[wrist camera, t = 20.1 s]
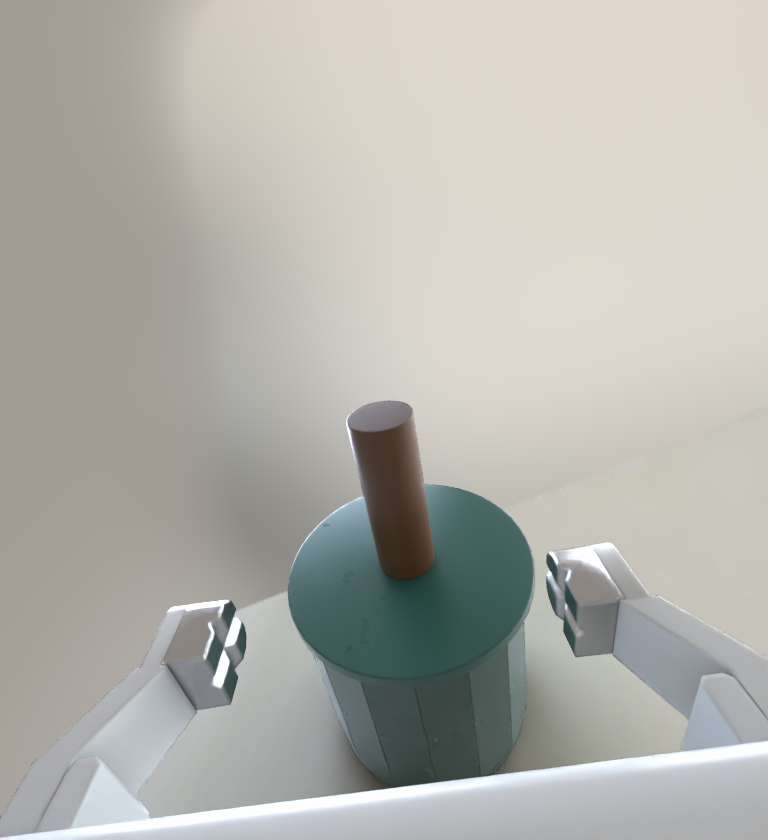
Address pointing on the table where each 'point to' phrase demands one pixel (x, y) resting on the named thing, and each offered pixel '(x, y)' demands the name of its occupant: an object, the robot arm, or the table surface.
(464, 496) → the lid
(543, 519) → the table surface
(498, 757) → the pot
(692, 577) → the table surface
